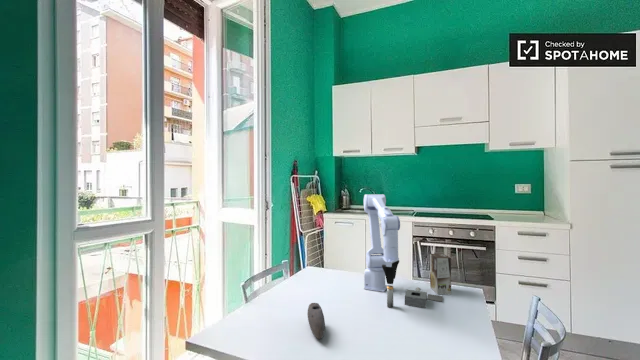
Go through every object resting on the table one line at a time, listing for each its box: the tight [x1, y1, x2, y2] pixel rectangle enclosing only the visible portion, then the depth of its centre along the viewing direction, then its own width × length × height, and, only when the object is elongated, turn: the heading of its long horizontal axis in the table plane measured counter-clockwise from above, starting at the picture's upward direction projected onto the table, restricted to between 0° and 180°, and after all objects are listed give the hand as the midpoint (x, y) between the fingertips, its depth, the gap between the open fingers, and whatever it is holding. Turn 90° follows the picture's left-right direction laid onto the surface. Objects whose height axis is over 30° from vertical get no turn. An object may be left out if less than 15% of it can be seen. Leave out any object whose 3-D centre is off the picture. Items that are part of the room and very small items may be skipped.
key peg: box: [386, 284, 394, 309], centre depth 114 cm, size 2×2×8 cm
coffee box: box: [429, 252, 452, 295], centre depth 130 cm, size 9×6×16 cm
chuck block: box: [404, 286, 428, 309], centre depth 120 cm, size 8×15×4 cm, turn 156°
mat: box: [427, 293, 444, 303], centre depth 121 cm, size 6×6×1 cm
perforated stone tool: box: [307, 302, 326, 340], centre depth 95 cm, size 15×5×7 cm, turn 7°
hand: (391, 281), depth 114 cm, fingers open, 7 cm apart
